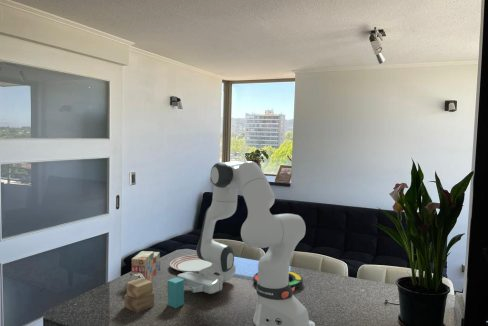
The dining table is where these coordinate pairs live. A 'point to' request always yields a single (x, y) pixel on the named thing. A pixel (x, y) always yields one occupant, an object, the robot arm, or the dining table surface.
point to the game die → (136, 276)
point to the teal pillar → (175, 292)
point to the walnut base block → (138, 303)
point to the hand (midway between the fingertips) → (184, 287)
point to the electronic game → (293, 276)
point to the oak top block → (139, 288)
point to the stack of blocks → (146, 264)
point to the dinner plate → (189, 264)
